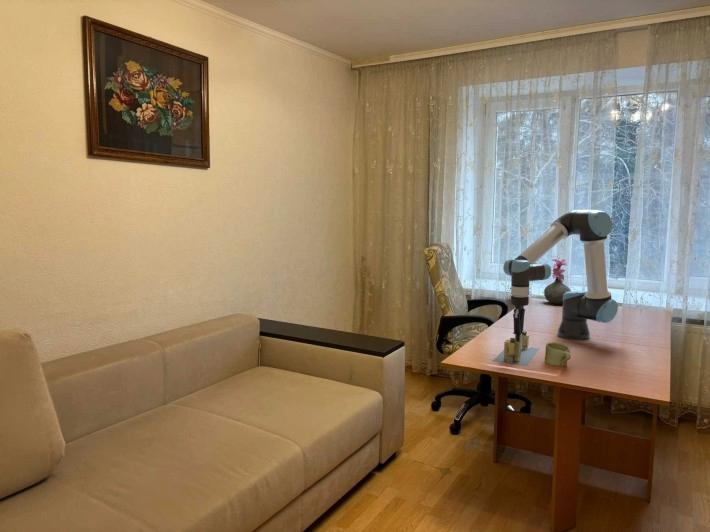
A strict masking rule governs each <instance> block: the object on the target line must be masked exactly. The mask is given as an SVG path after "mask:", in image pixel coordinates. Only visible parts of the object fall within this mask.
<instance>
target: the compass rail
mask: <svg viewBox="0 0 710 532" xmlns="http://www.w3.org/2000/svg"><path fill="white" fill-rule="evenodd" d="M522 332H524V334H522V333H521V334H522V348H521V351H522V350H523V349H524V348H528V347H530V344H529V343H530V334H529V333H528V334H527V331H524V330H523V331H522ZM509 363H510V364H509ZM512 363H513V357H509V356H507V357H506V363H505V364H509V365H513V364H512Z"/></svg>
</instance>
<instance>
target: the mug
mask: <svg viewBox="0 0 710 532" xmlns="http://www.w3.org/2000/svg"><path fill="white" fill-rule="evenodd" d="M571 356H572V355H571V349H570V347H569V346H568V345H566V344H562V343H559V342H548V343H546V344H545V355H544V362H545V363H546V364H548V365H551V366H558V367H563V368H565V366H567V365H568V361H569V360H570V359H571Z"/></svg>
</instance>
